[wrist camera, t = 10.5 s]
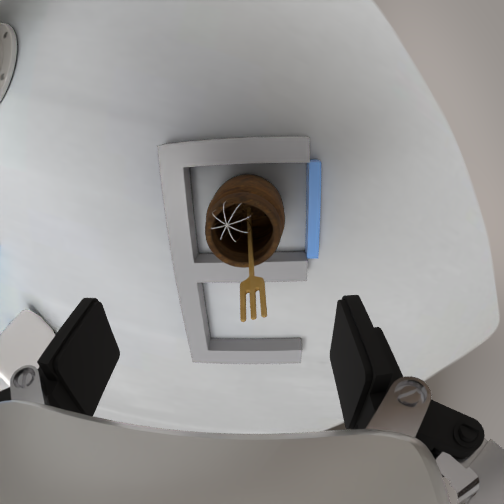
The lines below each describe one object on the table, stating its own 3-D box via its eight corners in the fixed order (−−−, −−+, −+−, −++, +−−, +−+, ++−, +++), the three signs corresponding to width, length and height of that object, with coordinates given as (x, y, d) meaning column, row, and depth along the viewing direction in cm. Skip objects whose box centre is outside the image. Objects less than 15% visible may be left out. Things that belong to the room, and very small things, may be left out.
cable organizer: (103, 375, 38) (73, 435, 27) (74, 390, 41) (47, 441, 30) (30, 301, 33) (-17, 353, 22) (11, 327, 36) (-27, 373, 25)
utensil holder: (271, 163, 25) (274, 198, 14) (290, 230, 27) (305, 307, 16) (205, 183, 26) (160, 232, 15) (228, 247, 28) (205, 330, 17)
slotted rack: (165, 143, 24) (157, 145, 22) (318, 136, 24) (322, 137, 22) (196, 350, 34) (192, 362, 32) (308, 350, 33) (309, 362, 31)
